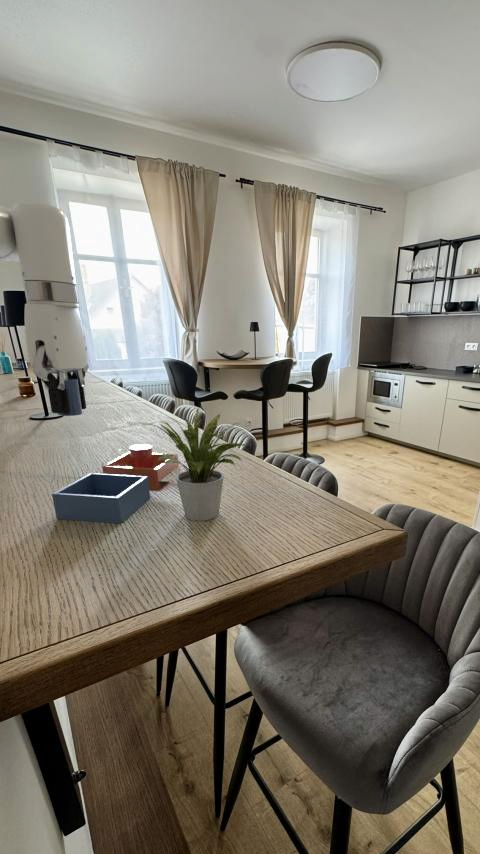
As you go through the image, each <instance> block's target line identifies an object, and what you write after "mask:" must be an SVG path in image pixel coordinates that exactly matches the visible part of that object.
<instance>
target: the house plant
mask: <svg viewBox="0 0 480 854" xmlns="http://www.w3.org/2000/svg"><path fill="white" fill-rule="evenodd" d="M199 410H200V406H199V407H198V408H197V409H196V411H195V413H194V419H193V425H192V423H191V422H190V421H189V420H188V419H187V418H185V424H186V425H187V429H183V426H182V425H181V424H180V423H179V422H178V421H177V420H175V419H174V418H171V417H166V418H167V419H170V420H172V421H174V422H176V423H177V424H178V426H179V428H180V429H181V430H180V432H182V433H183V435H184V437H185V439H186V441H187V444H186V443H184V442H183V440H182V438H181V436H180V435H179V434H178V433H177V431H176V430H175V429H173V428H172V426H171V425H170V424H169V423H168V422H165V421H164V420H161V422H162V423H164V424H165V425H162V424H161V423H159V425H160V426H161V427H159V426H157V425H155V424H151V423H146V425H148V426H152V427H156V428H158V429H160V430H161V431H163V432H164V433H165V434H166V435H168V437H169V438H170V440H172V441H173V442H174V444H175V445H174V446H175V447H176V448H177V449H178V450H179V452H181V453H182V454H183V457H184V460H185V461H183V462H181V461H180V460H179V459H178V460H177V459H176V458H175V457H173V456H170V455H165V454H166V453H163V454H164V455H161V456H160V457H159V458H158V460H165V459H173V460H177V461H178V462H177V461H165V462H163V463H162V464H164V463H172V462H174V463H178V465H182V467H183V468H184V470H185V471H182V472H179V473H178V474H177V475H176V476H175V480H176V485H177V488H178V489H177V490H178V493H179V497H180V500H181V504H182V508H183V512H184V516H185V517H186V519H188V520H191V521H196V522H203V521H209V520H213V519H216V518H217V517H218V516H219V514H220V508H221V507H220V506H221V500H222V493H223V492H222V491H223V484H224V478H225V477H224V473H222V472H221V471H219V470H215V469H216V468H217V467H218V466H220V464H221V463H222V464H223V463H224V464H230V465H234V466H236V463H234V461H233V460H232V459H229V458H234V459H237V460H239V461H240V462H242V459H241V457H240V456H239V455H237V454H233V453H226V454H224V453H225V452H226V451H228V450H231V449H234V448H236V447H239V446H241V447H243V446H244V447H245V446H247V444H245V443H238V442H230V443H229V442H227V443H226V442H223V443H218V444H217V442H218V441H219V440H220V439H221V438H225V436H224V435H225V434H226V433H227V432H230V429H231V428H233V427H234V426H236V425H238V424H241V423H242V421H240V422H237V423H233V424H232V425H230V426H229V427H227V428H226V429H225V430H223V431H220V432H216V430H217V429H218V421H219V420H220V417H221V413H218V414H217V415H216V416H214V417H213V418H212V420H210V421H209V422H208V424H207V425H206V427H205V428H204V430H203V432H202V435H201V437H200V441H199V431H200V430H199V429H200V427H199V426H200V425H199ZM168 427H169V428H168ZM219 434H220V435H219ZM216 435H218V436H216ZM215 436H216V437H215ZM214 437H215V438H214ZM188 446H189V447H188ZM228 457H229V458H228ZM158 460H157V461H158ZM184 463H186V465H187V466H186V465H185V464H184Z"/></svg>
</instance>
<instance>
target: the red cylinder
mask: <svg viewBox="0 0 480 854" xmlns="http://www.w3.org/2000/svg"><path fill="white" fill-rule="evenodd" d="M129 452H130V457H131V464H130V465H131V467H138V468H155V465H154V460H153V453H154V451H153V445H150V444H134V445H131V446H129Z"/></svg>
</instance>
